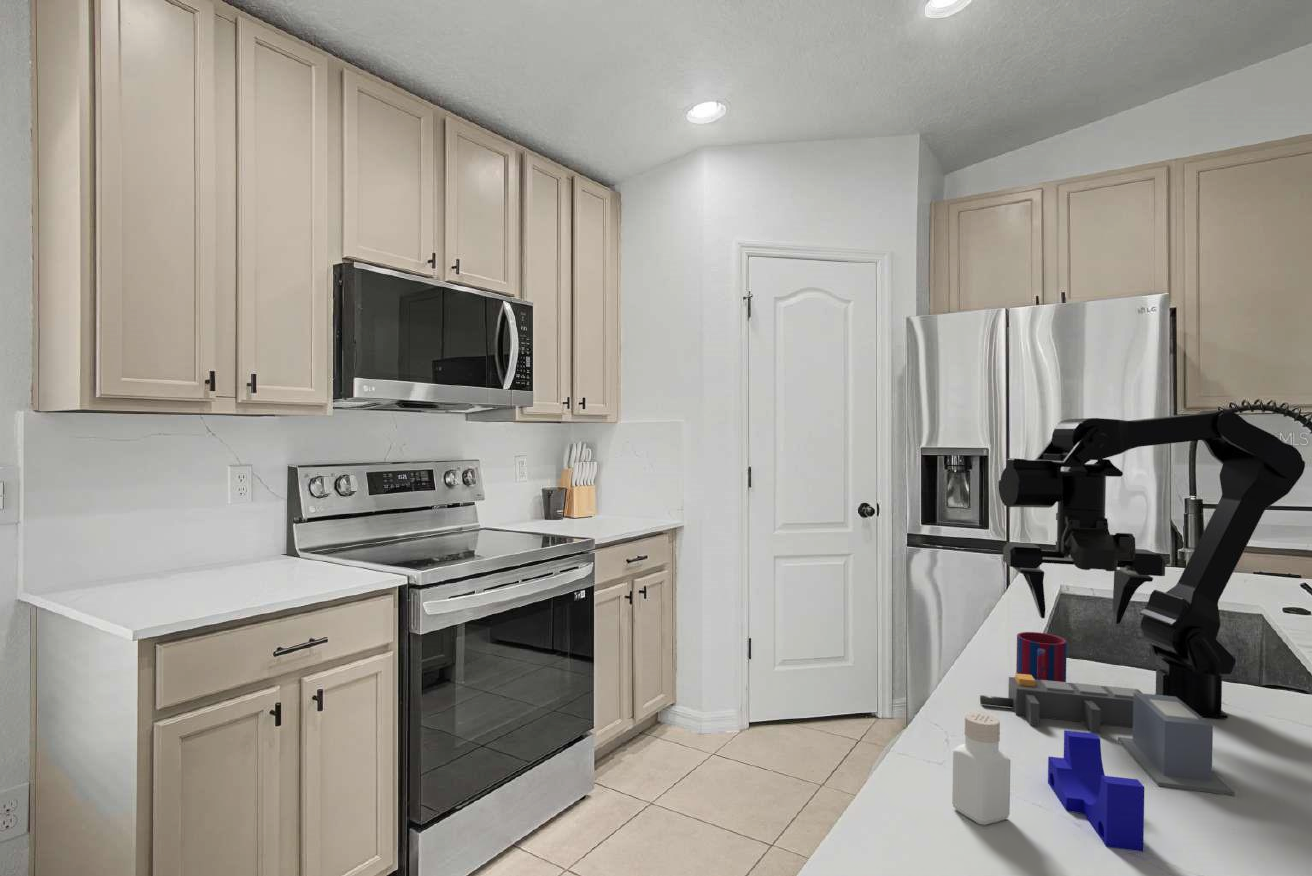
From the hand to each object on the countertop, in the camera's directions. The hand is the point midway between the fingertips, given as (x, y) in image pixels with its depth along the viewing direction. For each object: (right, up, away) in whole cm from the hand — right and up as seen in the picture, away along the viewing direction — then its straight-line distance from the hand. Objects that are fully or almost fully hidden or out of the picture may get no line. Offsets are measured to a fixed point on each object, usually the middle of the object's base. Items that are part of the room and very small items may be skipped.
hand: (1078, 620), depth 99 cm
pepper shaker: (-27, -12, -29) cm, 41 cm away
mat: (0, -12, -18) cm, 21 cm away
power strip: (-4, -12, -4) cm, 13 cm away
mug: (-1, -12, +9) cm, 15 cm away
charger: (0, -12, -17) cm, 21 cm away
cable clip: (-16, -12, -28) cm, 35 cm away
